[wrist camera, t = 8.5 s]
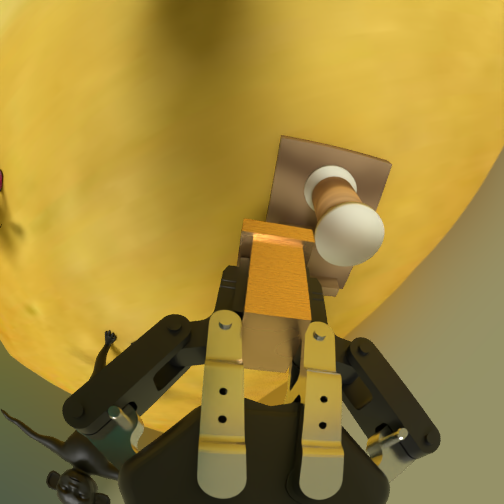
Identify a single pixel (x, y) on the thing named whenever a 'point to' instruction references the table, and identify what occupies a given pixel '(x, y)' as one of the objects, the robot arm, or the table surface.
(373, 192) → the board
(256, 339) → the tan wooden block
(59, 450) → the monkey
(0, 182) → the toy
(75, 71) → the table surface
